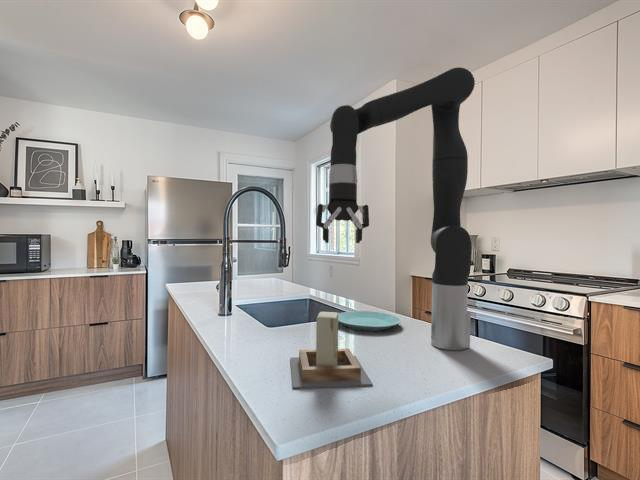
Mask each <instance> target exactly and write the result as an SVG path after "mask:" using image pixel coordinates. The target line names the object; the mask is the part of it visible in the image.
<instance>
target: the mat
mask: <svg viewBox="0 0 640 480" xmlns="http://www.w3.org/2000/svg"><path fill="white" fill-rule="evenodd" d="M353 356H354V357H355V359H356V361H357V362H358V364H359V366H360V367H361V380H349V381H322V382H302V377H301V370H300V363H299V356H298V357H297V356H296V357H293V356H292V357H290V358H289V359H290V372H291V373H290V374H291V382H292V383H291V385H292V386H291V387H292V390H304V389H325V388H326V389H329V388H350V387H351V388H353V387H354V388H355V387H356V388H358V387H373V386H374V384H373V382H372V381H371V379H370V377H369V375H368V374H367V372H366V370H365V368H363V366H362V364H361V363H360V361H359V359H358V358H357V356H356V355H353ZM308 363H309V367H316V362H308ZM337 366H346V364H345V362H344V361H339V362H338V365H337Z"/></svg>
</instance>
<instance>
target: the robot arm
mask: <svg viewBox="0 0 640 480" xmlns="http://www.w3.org/2000/svg"><path fill="white" fill-rule="evenodd" d="M475 82H476V81H475V78H474V75H473V73H472V72H471V71H470V70H469V69H467V68H464V67H460V66H459V67H453V68H450V69H448V70H446V71H444V72H442V73H440V74H438V75H437V76H434V77H432V78H431V79H428V80H426V81H424V82H421V83H419V84H416V85H413V86H411V87H408V88H405V89H403V90H400V91H396V92H392V93H390V94H388V95H383V96H380V97H377V98H374V99H370V100H368V101H365V103H363V104H362V105H361V106H360V107H357V108H354V107H353V106H351V105H350V104H342V105H340V106H338V107H337V108H336V109H334V111H333V113H332V115H331V120H330V126H329V127H330V132H331V134H332V135H331V136H332V143H331V144H332V145H331V148H330V149H331V150H330V165H329V166H330V170H329V176H328V177H329V183H328V187H329V190H328V204H322V203H319V204H318V205H317V206H316V218H315V220H316V221H315V226H316V227H319V228H321V229H322V240H323V241H324V243H325V244H328V243H329V242H330V241H329V239H330V238H329V235H330V230H329V227H330V225H331V224H332V223H333V222H334V220H335V221H344V222H348V221H350V222H351V223H352V224H353V225H354V227H355V228H356V229H355V244H360V243H361V242H362V240H363V230H364V229H366V228H367V227H369V226H370V216H369V214H370V213H369V209H370V208H369V205H368V204H365V205H358V203H357V202H358V201H357V200H358V197H357V196H358V171H357V142H358V135H359V134H361V133H363V132H366V131H368V130H370V129H371V128H376V127H380V126H383V125H386V124H389V123H394V122H395V121H398V120H400V119H402V118H405V117H406V116H409V115H411V114H413V113H415V112H417V111H419V110H421V109H424V108H426V107H429V106H430V107H431V115H432V123H433V124H432V125H433V127H432V128H433V129H432V130H433V134H432V162H431V164H432V169H431V171H432V172H431V173H432V197H433V198H432V199H433V218H432V226H431V235H430V245H431V249H432V251H433V252H434V253H435V258H434V260H435V262H434V269H433V272H432V275H431V276H432V277H431V278H432V279H431V282H432V283H431V331H430V334H431V335H430V338H431V339H430V344H431V345H432V346H434V347H436V348H437V349H438V348H439V349H442V350H447V351H463V350H465V349H470V348H471V312H469V311H468V297H469V296H468V293H469V292H468V289H469V287H468V286H469V285H468V283H469V278H470V275H471V274H470V273H471V266H472V250H473V249H472V247H473V246H472V237H471V234H470V233H469V232H468V231H467V229H465V228H464V227H462V226H461V224H462V223H461V207H462V202H463V199H464V195H465V191H466V187H467V181H468V171H469V170H468V167H469V166H468V161H469V159H468V158H469V156H468V150H467V147H466V143H465V142H464V140H463V137H462V135H461V131H460V127H459V126H460V125H459V123H460V121H459V120H460V109H461V104H462V103H464V102H465V101H466V100H467V99H469V97H470V96H471V95H472V93H473V91H474V88H475ZM326 210H327V211H328V212H329V216H328V218H327V219H326V221H325V222H323V213H325V212H326ZM358 211H359V213H360V214H361V215H362V223H361V222H360V220H359V218H358V217H357V215H356V213H357V212H358Z"/></svg>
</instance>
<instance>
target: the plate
mask: <svg viewBox="0 0 640 480" xmlns="http://www.w3.org/2000/svg"><path fill="white" fill-rule="evenodd" d="M401 322H402V319H401V318H400V317H399V316H396V315H394V314H391V313H386V312H381V311H372V310H353V311H352V310H351V311H343V312H338V323H341V324H343V325H345V326H346V327H347V326H348V328H349V327H350V329H352V328H353V330H358V331H365V332H366V331H367V332H368V331H369V332H378V331H379V332H380V331H385V330H388V329H390V328H392V327H394V326H396V325H399V324H401Z"/></svg>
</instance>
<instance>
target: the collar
mask: <svg viewBox="0 0 640 480" xmlns="http://www.w3.org/2000/svg"><path fill="white" fill-rule="evenodd" d="M354 356H355V355H353V353H352V351H351V349H350V348H338V362H339V361H344V362H345V364H346V366H318V367H309V363H308V362H316V348H315V349H299V350H298V357H299V363H300V370H301V377H302V382H322V381H349V380H361V367H360V366H359V364H358V362H357V361H356V359H355V357H354Z"/></svg>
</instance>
